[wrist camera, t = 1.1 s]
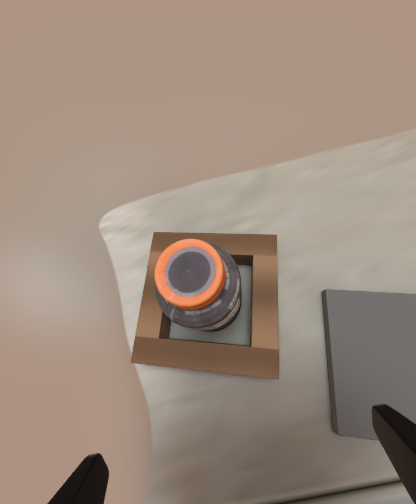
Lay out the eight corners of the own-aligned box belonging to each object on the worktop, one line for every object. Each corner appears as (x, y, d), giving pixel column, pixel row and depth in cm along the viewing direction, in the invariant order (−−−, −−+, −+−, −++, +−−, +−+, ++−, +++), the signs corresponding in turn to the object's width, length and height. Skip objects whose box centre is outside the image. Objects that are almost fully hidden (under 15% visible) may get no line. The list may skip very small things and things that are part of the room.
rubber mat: (494, 451, 17) (512, 459, 16) (332, 429, 19) (338, 434, 18) (453, 299, 21) (465, 296, 20) (321, 291, 22) (325, 289, 21)
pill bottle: (187, 269, 25) (148, 218, 14) (243, 274, 24) (245, 223, 14) (178, 327, 23) (125, 318, 13) (239, 335, 22) (237, 332, 12)
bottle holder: (274, 374, 21) (279, 379, 18) (144, 359, 22) (130, 362, 20) (272, 246, 25) (276, 234, 22) (163, 243, 26) (153, 232, 24)
